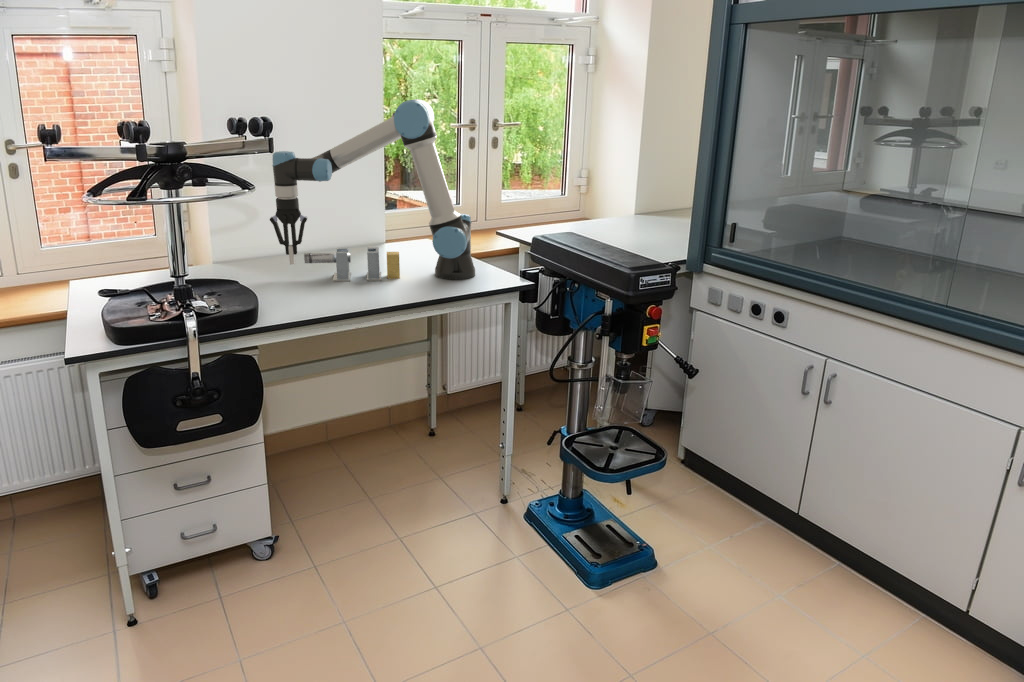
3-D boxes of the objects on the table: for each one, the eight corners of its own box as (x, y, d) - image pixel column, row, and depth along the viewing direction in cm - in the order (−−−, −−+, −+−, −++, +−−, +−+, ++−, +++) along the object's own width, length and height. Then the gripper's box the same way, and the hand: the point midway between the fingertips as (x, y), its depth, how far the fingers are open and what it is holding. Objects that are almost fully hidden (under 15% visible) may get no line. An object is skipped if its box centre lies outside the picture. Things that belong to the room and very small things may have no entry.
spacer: (399, 275, 274) (398, 251, 271) (399, 278, 270) (399, 254, 267) (387, 275, 274) (386, 251, 270) (387, 278, 269) (386, 254, 266)
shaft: (350, 261, 269) (350, 251, 268) (350, 263, 266) (349, 253, 265) (305, 262, 267) (305, 252, 265) (304, 264, 263) (303, 254, 262)
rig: (381, 273, 276) (380, 246, 272) (381, 280, 267) (379, 253, 263) (334, 274, 273) (332, 247, 270) (332, 281, 264) (331, 253, 260)
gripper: (307, 195, 261) (312, 260, 269) (269, 195, 258) (275, 261, 267) (305, 199, 254) (310, 265, 262) (265, 199, 252) (272, 266, 260)
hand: (292, 263), depth 264 cm, fingers closed
